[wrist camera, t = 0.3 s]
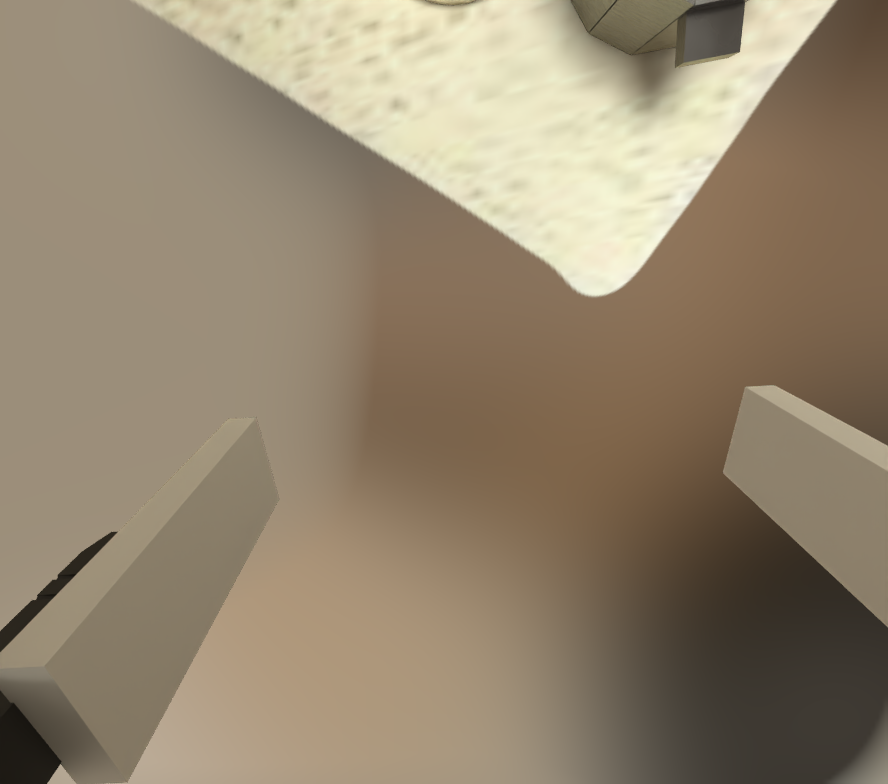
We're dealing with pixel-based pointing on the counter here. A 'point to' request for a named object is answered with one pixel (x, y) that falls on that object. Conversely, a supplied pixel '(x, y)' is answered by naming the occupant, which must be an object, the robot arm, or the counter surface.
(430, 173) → the counter surface
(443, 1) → the lid
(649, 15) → the pot
